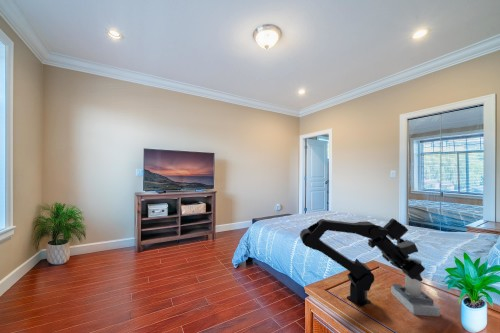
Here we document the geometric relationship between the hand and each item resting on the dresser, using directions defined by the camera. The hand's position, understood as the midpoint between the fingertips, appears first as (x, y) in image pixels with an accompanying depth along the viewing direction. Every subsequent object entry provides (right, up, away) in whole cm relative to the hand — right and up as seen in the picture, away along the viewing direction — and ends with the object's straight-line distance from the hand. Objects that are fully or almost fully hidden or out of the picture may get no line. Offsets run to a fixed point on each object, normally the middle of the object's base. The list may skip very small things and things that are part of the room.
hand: (416, 277), depth 84 cm
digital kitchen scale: (-1, -10, 0) cm, 11 cm away
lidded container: (-1, -7, 0) cm, 7 cm away
